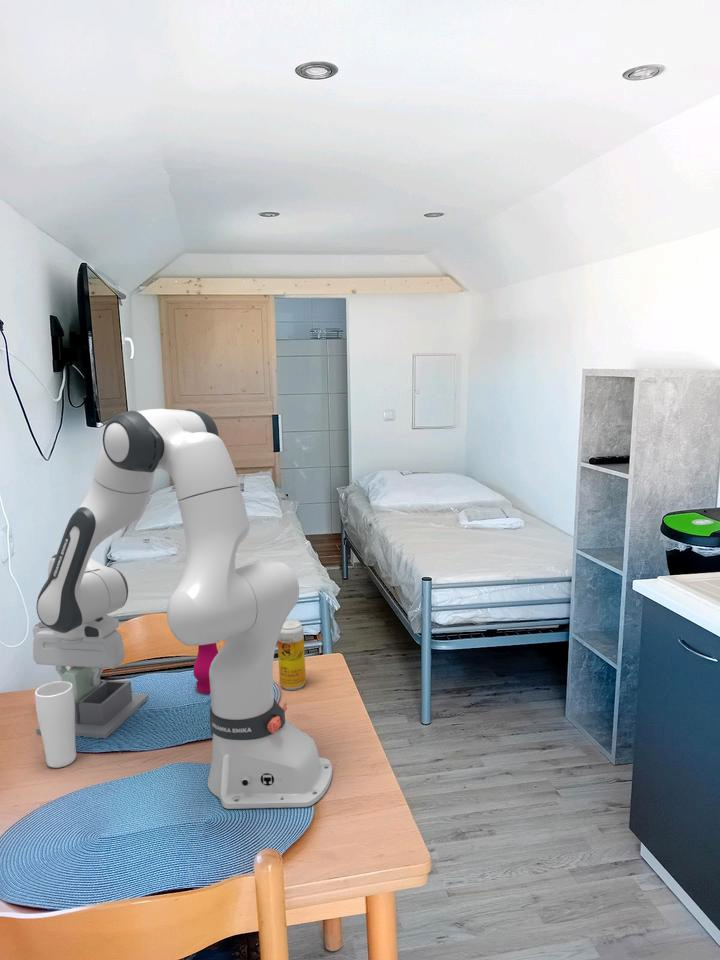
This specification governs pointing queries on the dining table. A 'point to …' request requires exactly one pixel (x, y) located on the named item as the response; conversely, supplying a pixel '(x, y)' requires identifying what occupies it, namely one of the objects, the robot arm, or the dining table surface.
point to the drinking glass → (57, 722)
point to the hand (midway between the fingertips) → (81, 684)
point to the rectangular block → (80, 681)
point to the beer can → (291, 656)
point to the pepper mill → (204, 666)
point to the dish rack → (105, 708)
